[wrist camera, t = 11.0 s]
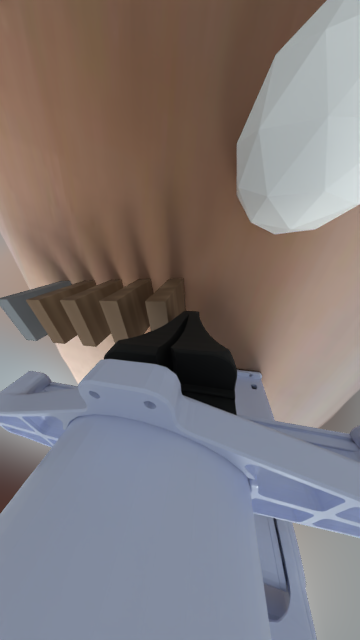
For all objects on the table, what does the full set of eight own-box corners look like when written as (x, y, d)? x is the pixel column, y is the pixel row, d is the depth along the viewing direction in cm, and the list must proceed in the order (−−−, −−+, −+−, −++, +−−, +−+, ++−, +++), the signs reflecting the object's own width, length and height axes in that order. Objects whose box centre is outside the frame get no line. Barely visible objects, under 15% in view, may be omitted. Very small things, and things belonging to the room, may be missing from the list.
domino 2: (94, 280, 19) (38, 300, 13) (106, 314, 21) (64, 343, 15) (84, 280, 19) (25, 299, 13) (97, 313, 21) (53, 342, 15)
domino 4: (150, 279, 17) (116, 301, 11) (157, 315, 19) (132, 350, 13) (138, 279, 17) (99, 300, 11) (146, 315, 20) (117, 348, 14)
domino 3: (121, 279, 18) (74, 300, 12) (131, 314, 20) (96, 346, 14) (110, 280, 18) (59, 300, 12) (121, 314, 20) (83, 345, 15)
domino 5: (183, 278, 16) (165, 301, 10) (185, 316, 18) (172, 353, 13) (169, 278, 16) (144, 301, 10) (174, 316, 19) (155, 352, 13)
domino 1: (76, 312, 22) (26, 339, 16) (60, 281, 20) (-5, 299, 14) (84, 313, 22) (36, 340, 16) (69, 280, 19) (6, 299, 13)
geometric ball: (247, 183, 13) (204, 67, 7) (399, 85, 8) (742, -683, 2) (253, 263, 13) (214, 218, 7) (411, 218, 8) (823, -129, 2)
